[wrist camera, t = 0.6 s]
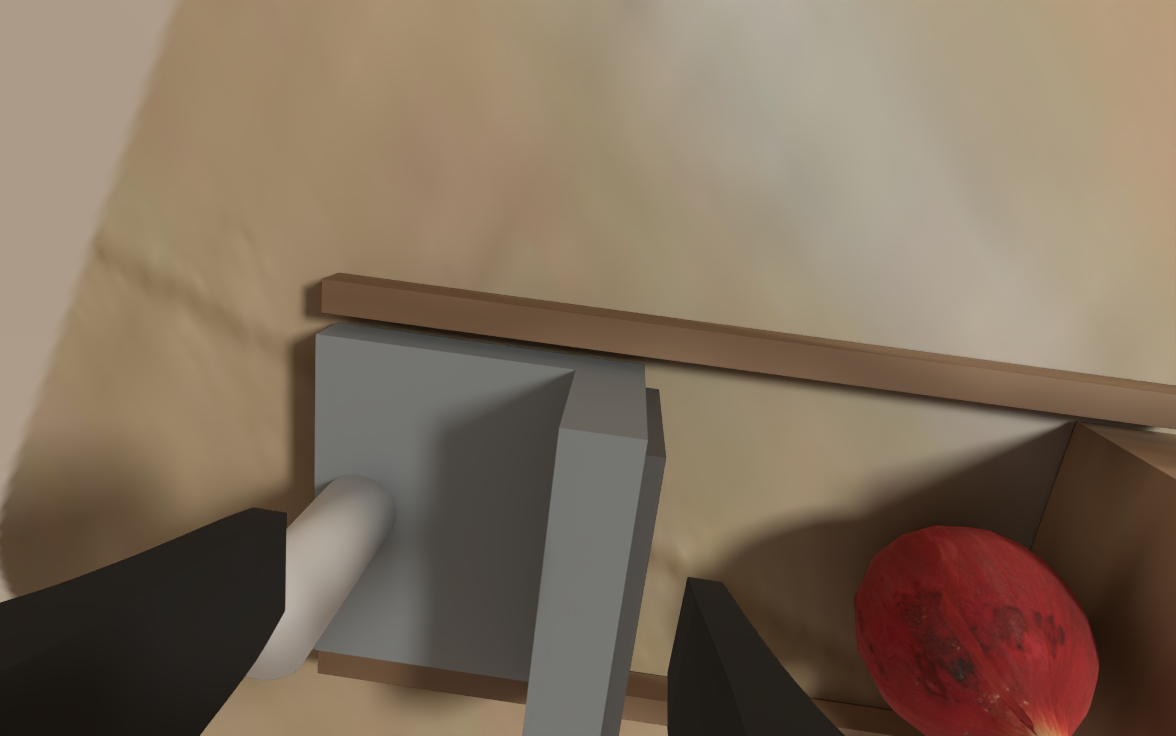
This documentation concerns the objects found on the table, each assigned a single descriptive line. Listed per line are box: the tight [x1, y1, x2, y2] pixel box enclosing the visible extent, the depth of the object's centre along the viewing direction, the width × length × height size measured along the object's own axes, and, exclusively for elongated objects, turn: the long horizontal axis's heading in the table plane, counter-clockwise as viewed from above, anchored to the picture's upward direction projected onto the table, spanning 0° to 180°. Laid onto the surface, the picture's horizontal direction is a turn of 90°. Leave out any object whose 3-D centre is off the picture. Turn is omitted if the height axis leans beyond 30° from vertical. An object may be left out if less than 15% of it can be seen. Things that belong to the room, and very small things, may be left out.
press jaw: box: [246, 323, 666, 736], centre depth 19 cm, size 11×10×8 cm
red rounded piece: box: [854, 525, 1099, 736], centre depth 19 cm, size 6×6×8 cm
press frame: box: [318, 273, 1176, 736], centre depth 20 cm, size 14×26×7 cm, turn 83°
